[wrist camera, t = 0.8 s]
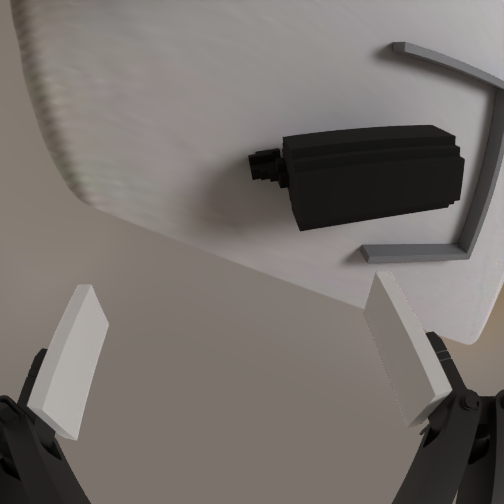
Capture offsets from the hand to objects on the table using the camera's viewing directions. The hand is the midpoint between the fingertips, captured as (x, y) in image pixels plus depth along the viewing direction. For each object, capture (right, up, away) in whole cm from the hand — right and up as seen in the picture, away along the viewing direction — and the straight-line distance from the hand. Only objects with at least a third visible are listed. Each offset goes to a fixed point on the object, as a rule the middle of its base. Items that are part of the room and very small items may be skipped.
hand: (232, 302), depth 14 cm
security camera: (+10, +13, +16) cm, 23 cm away
